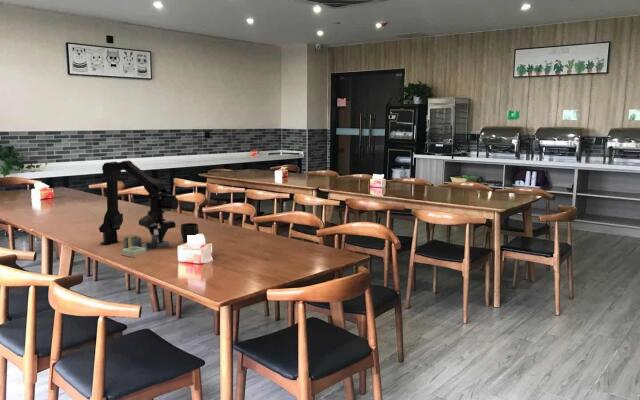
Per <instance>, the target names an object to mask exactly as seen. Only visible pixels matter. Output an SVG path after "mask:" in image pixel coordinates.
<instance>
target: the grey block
mask: <svg viewBox="0 0 640 400" xmlns="http://www.w3.org/2000/svg"><path fill="white" fill-rule="evenodd" d="M150 236H151V241H152V243H156V244H158V243H162V242H164V241H165V239H164V238H163V240H162V242H160V241H159V232H158V230H157V229H156V228H154V234H151V233H150Z"/></svg>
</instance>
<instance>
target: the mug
mask: <svg viewBox="0 0 640 400" xmlns="http://www.w3.org/2000/svg"><path fill="white" fill-rule="evenodd" d="M199 231H200V230H199V224H198V223H195V222H189V223H188V222H186V223H182V224H180V235H181V239H182V241H183V243H186V242H187V235H196V234H198V235H199ZM186 244H187V243H186Z"/></svg>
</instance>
